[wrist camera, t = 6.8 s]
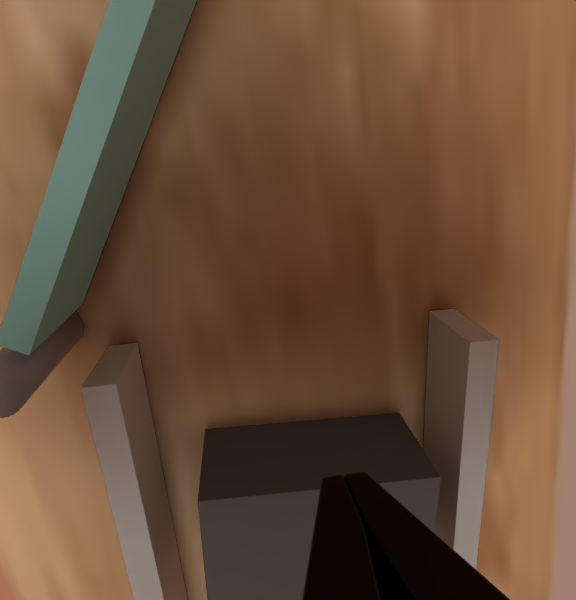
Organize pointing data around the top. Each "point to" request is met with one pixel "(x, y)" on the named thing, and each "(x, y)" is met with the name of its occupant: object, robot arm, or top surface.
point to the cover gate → (94, 164)
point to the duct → (146, 460)
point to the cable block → (294, 495)
